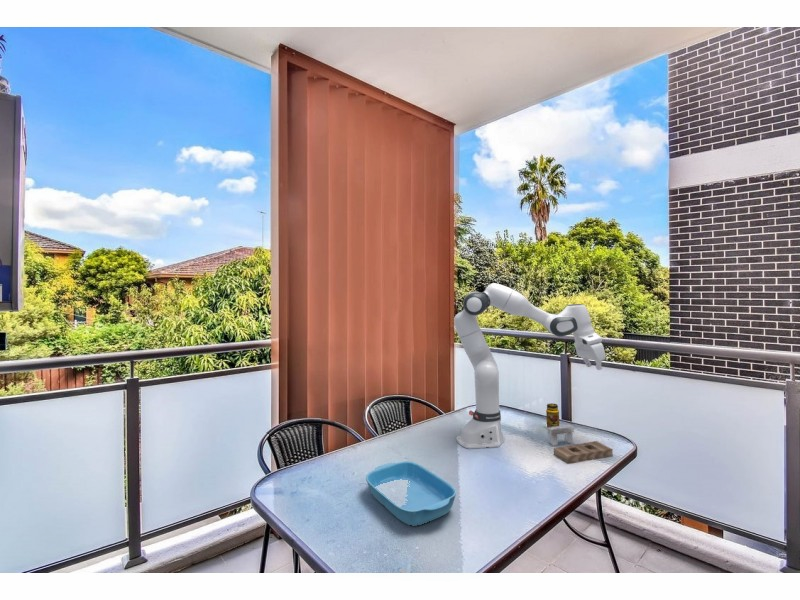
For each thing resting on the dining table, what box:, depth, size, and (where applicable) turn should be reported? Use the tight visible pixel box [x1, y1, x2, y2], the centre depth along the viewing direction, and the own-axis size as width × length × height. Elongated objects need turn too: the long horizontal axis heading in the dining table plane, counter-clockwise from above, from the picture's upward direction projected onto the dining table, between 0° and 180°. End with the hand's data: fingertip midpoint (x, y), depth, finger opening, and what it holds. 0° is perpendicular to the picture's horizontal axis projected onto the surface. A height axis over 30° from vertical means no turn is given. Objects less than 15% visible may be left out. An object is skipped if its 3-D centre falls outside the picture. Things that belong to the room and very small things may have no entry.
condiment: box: [542, 403, 560, 429], centre depth 196 cm, size 7×8×12 cm
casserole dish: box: [365, 460, 457, 527], centre depth 132 cm, size 37×22×7 cm, turn 32°
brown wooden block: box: [553, 440, 613, 465], centre depth 162 cm, size 22×9×3 cm, turn 104°
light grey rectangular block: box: [546, 424, 575, 447], centre depth 175 cm, size 12×3×8 cm, turn 104°
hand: (594, 368), depth 170 cm, fingers open, 8 cm apart
